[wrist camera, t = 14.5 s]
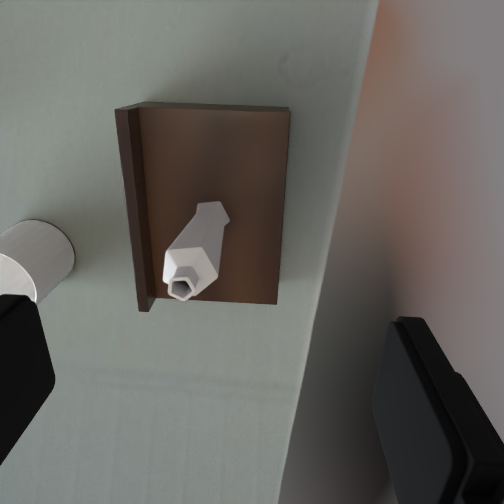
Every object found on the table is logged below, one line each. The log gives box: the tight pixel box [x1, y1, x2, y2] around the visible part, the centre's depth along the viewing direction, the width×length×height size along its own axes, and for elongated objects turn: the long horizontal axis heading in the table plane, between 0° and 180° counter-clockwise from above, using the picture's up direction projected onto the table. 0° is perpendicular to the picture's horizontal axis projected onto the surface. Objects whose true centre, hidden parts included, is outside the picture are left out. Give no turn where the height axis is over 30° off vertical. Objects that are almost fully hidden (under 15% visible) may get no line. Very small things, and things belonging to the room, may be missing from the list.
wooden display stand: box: [115, 102, 290, 312], centre depth 43 cm, size 16×22×8 cm
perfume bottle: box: [163, 201, 230, 301], centre depth 35 cm, size 5×4×15 cm
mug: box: [0, 220, 74, 305], centre depth 47 cm, size 12×9×9 cm
